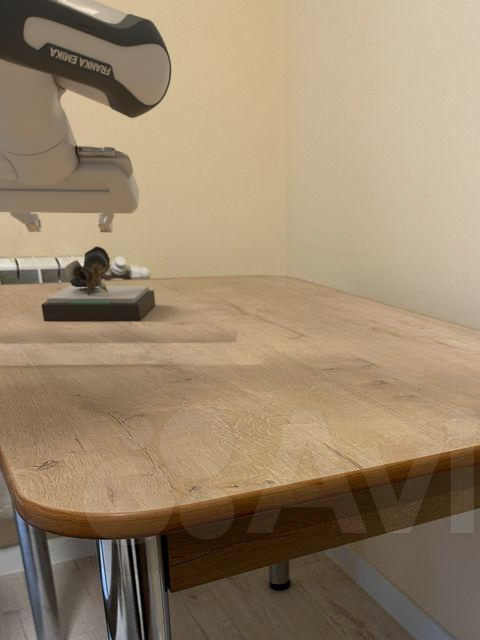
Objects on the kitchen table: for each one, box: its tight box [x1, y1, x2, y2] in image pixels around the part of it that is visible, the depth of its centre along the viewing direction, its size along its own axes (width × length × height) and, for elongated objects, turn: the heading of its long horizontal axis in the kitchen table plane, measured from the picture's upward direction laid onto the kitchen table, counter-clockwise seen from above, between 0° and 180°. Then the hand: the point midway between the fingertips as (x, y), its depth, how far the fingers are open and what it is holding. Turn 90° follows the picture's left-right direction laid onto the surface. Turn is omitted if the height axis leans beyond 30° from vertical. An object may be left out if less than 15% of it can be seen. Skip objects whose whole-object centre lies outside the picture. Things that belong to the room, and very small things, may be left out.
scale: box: [41, 285, 156, 322], centre depth 111 cm, size 14×14×3 cm
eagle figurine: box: [64, 246, 111, 295], centre depth 109 cm, size 8×7×9 cm
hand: (71, 228), depth 96 cm, fingers open, 8 cm apart
